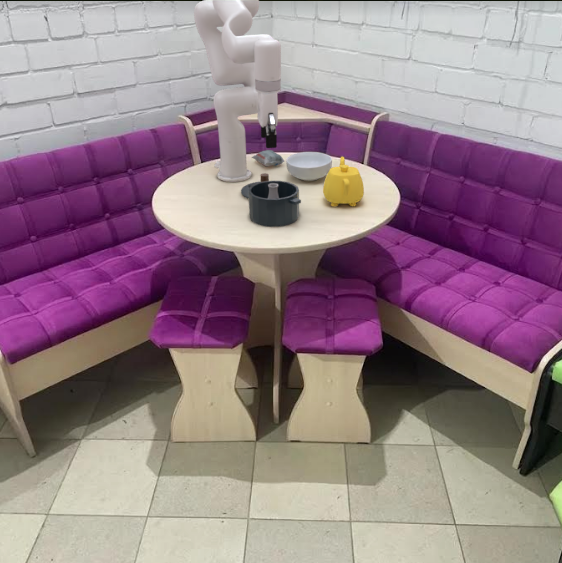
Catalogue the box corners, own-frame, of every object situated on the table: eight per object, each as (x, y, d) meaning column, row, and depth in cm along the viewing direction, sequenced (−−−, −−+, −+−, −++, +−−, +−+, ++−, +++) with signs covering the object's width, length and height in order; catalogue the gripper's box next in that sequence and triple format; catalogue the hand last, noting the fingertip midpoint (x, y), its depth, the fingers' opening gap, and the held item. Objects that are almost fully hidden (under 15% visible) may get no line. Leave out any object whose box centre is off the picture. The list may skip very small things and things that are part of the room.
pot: (280, 234, 169) (279, 206, 164) (233, 214, 181) (232, 188, 177) (315, 218, 178) (315, 191, 173) (268, 200, 191) (268, 174, 186)
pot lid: (264, 206, 186) (263, 187, 183) (231, 193, 196) (230, 175, 193) (298, 192, 196) (298, 174, 193) (265, 180, 206) (265, 163, 203)
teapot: (359, 188, 198) (361, 154, 192) (366, 212, 181) (368, 175, 175) (321, 189, 198) (322, 155, 192) (324, 212, 181) (325, 176, 175)
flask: (283, 220, 176) (282, 190, 171) (260, 218, 177) (259, 188, 172) (286, 210, 182) (286, 181, 177) (264, 209, 183) (264, 180, 178)
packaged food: (265, 170, 215) (265, 158, 212) (251, 161, 224) (251, 149, 221) (285, 167, 218) (285, 154, 216) (270, 158, 227) (270, 146, 225)
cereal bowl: (292, 167, 217) (292, 149, 214) (335, 171, 213) (336, 153, 210) (281, 183, 204) (280, 164, 200) (326, 187, 200) (326, 168, 196)
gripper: (251, 78, 171) (252, 134, 180) (259, 93, 157) (260, 152, 166) (275, 77, 172) (276, 132, 181) (286, 92, 158) (285, 151, 167)
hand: (268, 142), depth 174 cm, fingers open, 9 cm apart
